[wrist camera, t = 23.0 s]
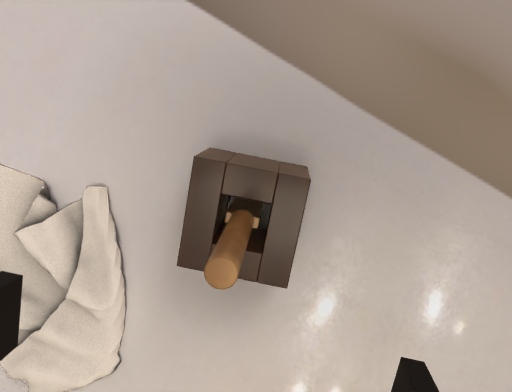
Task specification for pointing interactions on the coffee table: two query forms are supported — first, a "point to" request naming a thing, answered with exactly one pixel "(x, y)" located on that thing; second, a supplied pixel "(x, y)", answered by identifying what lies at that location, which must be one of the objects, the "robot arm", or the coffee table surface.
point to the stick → (232, 243)
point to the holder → (253, 188)
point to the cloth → (61, 284)
